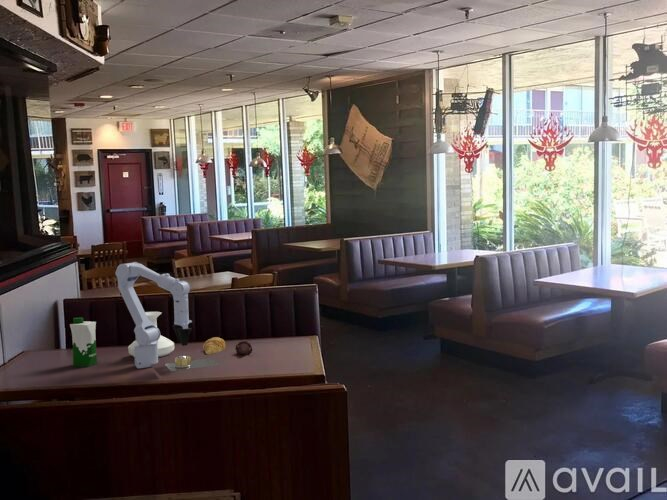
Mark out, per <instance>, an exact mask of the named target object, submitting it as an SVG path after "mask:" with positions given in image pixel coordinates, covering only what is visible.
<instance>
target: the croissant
mask: <svg viewBox="0 0 667 500" xmlns="http://www.w3.org/2000/svg"><path fill="white" fill-rule="evenodd" d="M202 349H203V351H204V353H205V354H206V355H213V354H217V353H220V352H222V351H225V349H226V341H225V340H224V339H223V338H220V336H215V337H211V338H209V339H207V340H206V341H205V342H204V343H203V345H202Z"/></svg>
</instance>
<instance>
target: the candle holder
mask: <svg viewBox="0 0 667 500" xmlns="http://www.w3.org/2000/svg"><path fill="white" fill-rule="evenodd" d="M145 313H146V316H147V318H148V320H150V321H151V322H153V323H154V325H155V326H156V327H157V328H158V323H157V320H158V317H159V316H160V315H162V313H163V312H160V311H145ZM138 345H139V344H138V343H137V341H136V340H134V341H133V342H132V343H131V344H129V345H128V347H127V349H128V350H127V351H128V354H129V355H131V356H132V357H133V358H135V357H134V347H135V346H138ZM157 346H158V358H160V357H165V356H169V355H170V354H171V353H172V352H173V351H174V350H175V342H174V341H172V340H171V339H169V338H167V337H165V336H163V335H161V334H160V338H159V339H158V343H157Z"/></svg>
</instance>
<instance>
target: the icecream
mask: <svg viewBox="0 0 667 500" xmlns="http://www.w3.org/2000/svg"><path fill="white" fill-rule="evenodd" d="M235 352H236V354H237V355H243V356H244V355H245V356H248V355H249V356H250V355H251V354H252V353H253V347H252V345H251V344H250V342H248V341H247V340H243V341H239V342H238V343H237V344H235Z"/></svg>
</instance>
